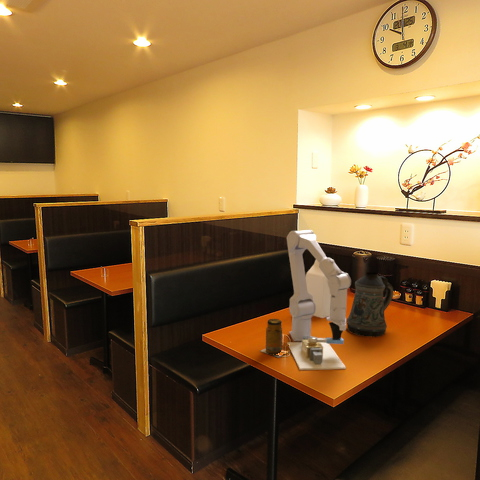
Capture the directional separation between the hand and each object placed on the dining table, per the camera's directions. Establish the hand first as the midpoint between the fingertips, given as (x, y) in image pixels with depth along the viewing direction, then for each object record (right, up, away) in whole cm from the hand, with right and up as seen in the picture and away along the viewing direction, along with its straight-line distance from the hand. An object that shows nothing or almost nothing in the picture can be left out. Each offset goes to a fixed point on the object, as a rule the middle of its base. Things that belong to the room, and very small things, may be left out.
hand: (336, 342), depth 151 cm
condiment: (-22, -5, +3) cm, 23 cm away
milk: (+3, +2, +48) cm, 49 cm away
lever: (-4, 0, -1) cm, 4 cm away
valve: (-9, -5, 0) cm, 10 cm away
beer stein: (+20, -1, +27) cm, 34 cm away
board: (-8, -5, 0) cm, 9 cm away
